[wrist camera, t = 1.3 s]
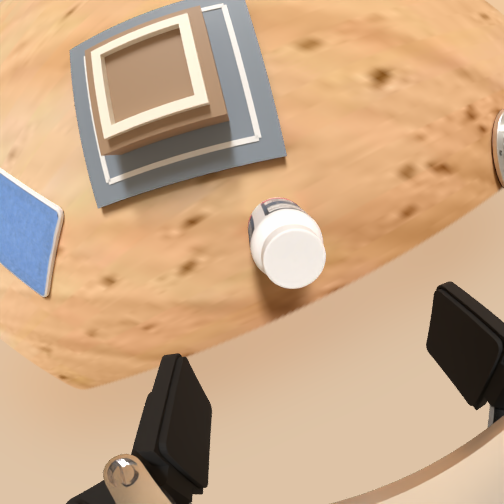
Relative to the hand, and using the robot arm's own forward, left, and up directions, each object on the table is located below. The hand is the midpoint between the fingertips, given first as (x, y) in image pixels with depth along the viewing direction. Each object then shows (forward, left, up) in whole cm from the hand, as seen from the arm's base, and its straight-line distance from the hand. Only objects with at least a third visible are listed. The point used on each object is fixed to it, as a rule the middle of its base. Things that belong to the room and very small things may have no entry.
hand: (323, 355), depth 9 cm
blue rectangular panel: (+32, -9, -18) cm, 37 cm away
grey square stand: (+7, -15, -17) cm, 24 cm away
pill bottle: (0, 0, -18) cm, 18 cm away
